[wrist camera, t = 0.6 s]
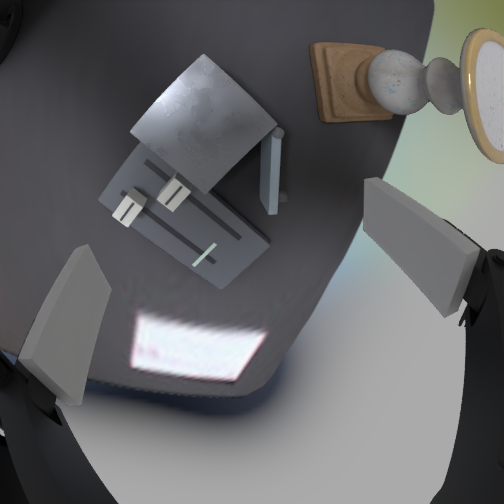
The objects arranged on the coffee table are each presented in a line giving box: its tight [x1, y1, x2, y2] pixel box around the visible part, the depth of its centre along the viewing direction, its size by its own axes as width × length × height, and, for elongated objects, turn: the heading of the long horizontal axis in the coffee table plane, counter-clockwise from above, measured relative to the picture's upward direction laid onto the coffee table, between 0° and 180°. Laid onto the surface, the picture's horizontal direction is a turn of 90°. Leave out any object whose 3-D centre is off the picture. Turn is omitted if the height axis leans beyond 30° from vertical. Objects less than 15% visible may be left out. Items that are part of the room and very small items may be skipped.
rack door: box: [259, 126, 288, 215], centre depth 31 cm, size 3×10×7 cm, turn 179°
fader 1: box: [112, 187, 147, 227], centre depth 30 cm, size 2×3×3 cm
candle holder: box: [309, 28, 504, 164], centre depth 19 cm, size 11×11×24 cm
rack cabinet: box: [130, 54, 278, 195], centre depth 27 cm, size 10×10×8 cm
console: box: [98, 142, 271, 290], centre depth 35 cm, size 22×10×2 cm, turn 44°
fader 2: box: [156, 172, 192, 212], centre depth 30 cm, size 2×3×3 cm
